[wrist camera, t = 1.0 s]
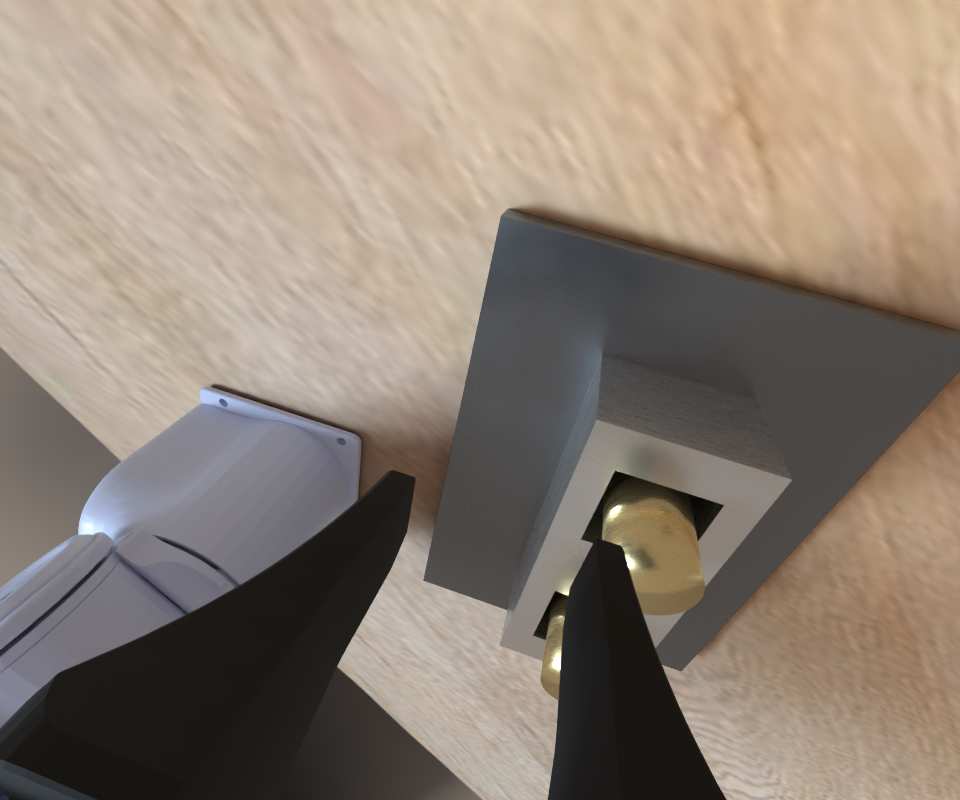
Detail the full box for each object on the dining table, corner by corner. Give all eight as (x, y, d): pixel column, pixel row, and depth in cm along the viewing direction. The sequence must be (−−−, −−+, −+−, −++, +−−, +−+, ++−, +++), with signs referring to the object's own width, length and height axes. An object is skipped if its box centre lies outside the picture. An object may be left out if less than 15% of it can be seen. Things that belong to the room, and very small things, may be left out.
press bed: (429, 564, 30) (423, 580, 29) (507, 208, 18) (500, 215, 17) (679, 651, 29) (681, 671, 28) (960, 331, 16) (982, 346, 15)
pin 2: (593, 500, 19) (587, 595, 15) (620, 445, 17) (620, 537, 14) (667, 524, 19) (678, 626, 15) (702, 470, 17) (724, 571, 13)
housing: (516, 568, 26) (499, 645, 23) (601, 354, 18) (596, 419, 15) (622, 604, 26) (622, 689, 22) (757, 400, 18) (792, 479, 14)
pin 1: (546, 598, 23) (532, 691, 19) (564, 560, 21) (552, 655, 18) (606, 618, 23) (603, 717, 19) (629, 582, 21) (631, 683, 17)
